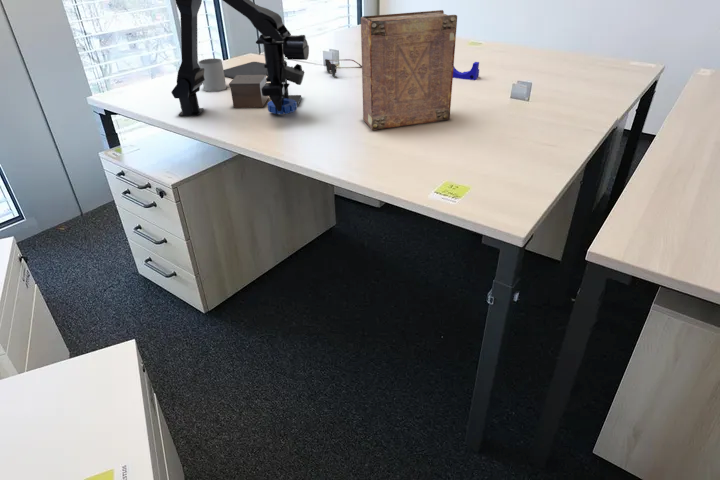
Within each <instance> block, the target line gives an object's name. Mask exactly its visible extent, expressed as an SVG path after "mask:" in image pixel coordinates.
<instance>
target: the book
mask: <svg viewBox="0 0 720 480" xmlns="http://www.w3.org/2000/svg"><path fill="white" fill-rule="evenodd" d="M457 27H458V15H457V14H445V12H444V10H443V9H439V10H426V11H415V12H412V11H411V12H400V13H388V14H375V15H362V16H361V17H360V42H361V43H360V44H361V46H360V47H361V48H360V49H361V66H362V68H361V83H362V85H361V86H362V88H361V89H362V120H363V121H364V122H365V124H366V125H367V126H368V127H369V128H370V129H371V130H372V131H377V130H385V129H393V128H394V129H395V128H400V127H407V126H415V125H423V124H431V123H432V124H433V123H439V122H446V121H450V117H451V105H452V92H453V80H454V78H453V67H455V65H454V64H455V53H456V50H455V49H456V40H457Z"/></svg>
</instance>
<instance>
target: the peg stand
mask: <svg viewBox="0 0 720 480" xmlns="http://www.w3.org/2000/svg"><path fill="white" fill-rule="evenodd" d="M285 83H288V80H286V82H285ZM284 98H287V99H293V100H295V101H296V103H297V108H298V107H299V105H300V102H301V101H302V94H289V87H288V88H287V89H286V92H285V95H284Z"/></svg>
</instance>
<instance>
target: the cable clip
mask: <svg viewBox="0 0 720 480" xmlns="http://www.w3.org/2000/svg"><path fill="white" fill-rule="evenodd" d="M479 76H480V62H479V61H474V62H473V63H472V67H471V68H470V69H469V70H468V71H463V72H462V71H460V70H458V69H456V67H455V66H454V67H453V79H461V80H470V81H476V80H477V79H479Z"/></svg>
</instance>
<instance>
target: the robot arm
mask: <svg viewBox="0 0 720 480" xmlns="http://www.w3.org/2000/svg"><path fill="white" fill-rule="evenodd" d="M174 1H175V5H176V7H177V9H178V11H179V14H180V44H181V45H180V49H181V50H180V51H181V63H180V66H179V68H178V71H177V75H176V85H175V86H174V88H173V89H172V90H171V95H172V96H173V98H174V99H178V101H179V105H180V109H181V110H180V112H179V114H178V117H198V116H199V115H200V114H201V113H202V112H203V111H204V107H200V104H199V100H198V95H197V93H198V92H200V89H201V86H202V85H203V81H204V80H205V79H204V68H200V66H199V61H198V56H199V55H198V15H199V11H200V8H201V6H202V2H203V0H174ZM222 2H224V3H226V5H228V6H230V7H231V8H232V9H233V10H236V11H237V12H238V13H239V14H241V15H242V16H243V17H245V18H247V19H248V20H249V21H250V23H251V24H252V26H253V27H254V28H255V29H256V30H257V31H258V32H259V33H260V35H259V38H258V39H257V40H256V41H255V44H256V45H262V46H263V54H264V61H265V64H264V67H265V68H266V71H267V75H266V84H265V85H264V86H263V88H262V89H261V90H262V95H263V96H268V98H269V99H270V101H272V102H273V104H274V105H275V107H276V108H277V110H278V111H282V105H283V103H284V95H285V92H286V89H287V88H288V89H289V86H290V83H293V84H295V85H298V86H301V85H302V83H303V80H304V76H305V70H304V69H303V67H302V65H301V64H299V63H296V64H295V65H294V66H290V65H288V62H287V60H293V61H307V60H309V54H310V46H309V43H308V41H307V38H306V34H298V35H292V33H291V32H290V31H289V30H288V28H287V27H286V26H285V25H284V23H283V18H282V17H281V15H280V14H279V13H277V12H275V11H273V10H271V9H268V8H267V7H264V6H260V5H259V4H256V3H255V2H254V1H252V0H222ZM285 58H286V59H287V60H285ZM286 80H287V83H285V82H286ZM289 82H290V83H289Z"/></svg>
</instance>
